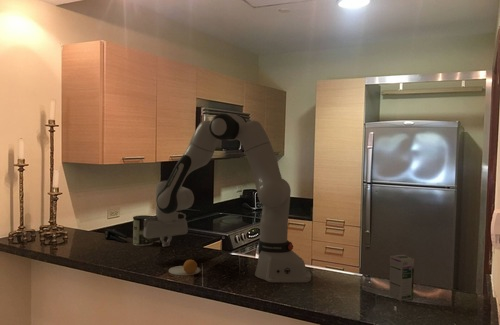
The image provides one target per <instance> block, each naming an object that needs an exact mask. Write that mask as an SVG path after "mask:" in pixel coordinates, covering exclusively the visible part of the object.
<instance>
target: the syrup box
mask: <svg viewBox="0 0 500 325" xmlns="http://www.w3.org/2000/svg"><path fill="white" fill-rule="evenodd" d="M414 278H415V258H414V257H412V256H410V255H406V254H397V255H390V256H389V290H388V291H389V292H388V293H389V294H388V295H389V297H391V298H393V299H395V300H398V301H400V302H403V301H408V300H413V299H414V282H415V280H414Z"/></svg>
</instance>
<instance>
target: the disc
mask: <svg viewBox="0 0 500 325" xmlns="http://www.w3.org/2000/svg"><path fill="white" fill-rule="evenodd" d="M183 266H184V265H178V266H172V267H170V268H169V269H168V273H169V274H172V275H175V276H194V275H196V274H199V273H200V272H201V268H200V267H198V266H197V269H196V271H195V272H194V273H191V274H189V273H186V272H185V271H184V268H183Z"/></svg>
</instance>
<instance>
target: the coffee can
mask: <svg viewBox="0 0 500 325" xmlns="http://www.w3.org/2000/svg"><path fill="white" fill-rule="evenodd" d="M147 217H154V216H153V215H145V214H144V215H143V214H142V215H134V216H133V217H132V218H133V220H132V221H133V222H132V245H134V246H137V247H144V246H145V247H146V246H151V245H153V244H154V238H149V239H147V238H145V237H144V236H143V232H144V220H145V219H146V218H147ZM146 220H147V219H146Z"/></svg>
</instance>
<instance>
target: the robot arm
mask: <svg viewBox="0 0 500 325" xmlns="http://www.w3.org/2000/svg"><path fill="white" fill-rule="evenodd" d="M235 140H236V141H239V142H240V144H241V146H242V148H243V151H244V153H245V157H246V159H247V162H248V164H249V166H250V167H249V168H250V170H251V173H252V177H253V182H254V185H255V189H256V192H257V200H258V201H259V203H260V204H262V210H261V216H260V221H259V224H260V225H259V226H260V227H259V239H258V243H257V244H258V246H257V249H258V250H257V252H258V258H257V259H258V260H257V265H256V269H255V272H254V276H255V277H257V278H259V279H260V280H264V281H266V282H268V283H308V282H310V281H311V280H312V274H311V272H310V271H308V270H307V268H306V263H305V260H304V259H303V258H302V257H300V256H299V255H298V254H297V253H296V252H294V251H293V249H294V245H293V243H292V241H289V240H288V232H289V231H288V228H289V216H290V205H291V193H292V192H291V189H292V188H291V185H290V183H289V182H288V181H287V180H285V179H284V178H282V174H281V170H280V167H279V163H278V158H277V156H276V154H275V152H274V151H275V150H274V149H273V146H272V144H271V140H270V138H269V136H268V134H267V132H266V130H265V129H264V127H263V126H262V123H260V122H259V121H257V120H248V121H247V119H246V118H245V117H244V116H241V115H239V114H235V113H231V112H230V113H229V112H227V113H224V112H223V113H218V114H216V115H214V116H213V117H212V118H211V120H202V121H201V122H200V123H199V124H198V126H197V127H196V129H195V131H194V133H193V134H192V136H191V139H190V141H189V144H188V146H187V148H186V150H185V151H184V153H183V154H182V155H181V157H180V158H179V159H178V161H177V162H176V164H175V165H174V168H173V169H172V172H171V173H170V175H169V178H168V179H166V180H160V181H159V182H157V185H156V187H155V189H156V191H155V202H156V208H155V216H153V217H147V218H146V219H147V220H146V219H145V220H144V232H143V236H144V237H145V238H147V239H149V238H153V239H157V238H159V240H160V241H161V243H162V244H161V246H162V248H163V247H169V246H170V244H171V242H172V239H173V237H174V236H182V235H186V234H187V233H188V232H189V231H188V229H189V228H188V226H189V225H188V221H187V219H186V218H187V215H186V213H183V212H180V211H183V210H188V209H190V208H192V206H193V205H194V203H195V194H194V192H193V191H192V189H190V188H188V187H185V186H183V184H184V182H185V180H186V178H187V177H188V176H189V175H190V174H191V173H192V172H193V171H195V170H198V169H200V168H203V167H204V166H206V165H208V163H209V162H211V160H212V158H213V156H214V153H215V151H216V148H217V146H218V144H219V143H220V141H235ZM165 237H167V240H166V241H165Z"/></svg>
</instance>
